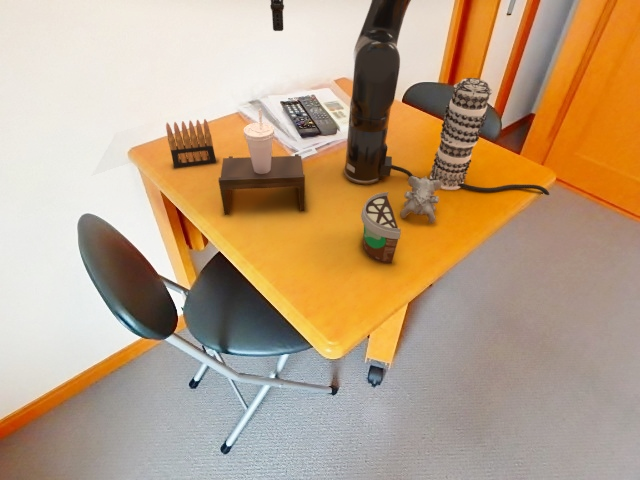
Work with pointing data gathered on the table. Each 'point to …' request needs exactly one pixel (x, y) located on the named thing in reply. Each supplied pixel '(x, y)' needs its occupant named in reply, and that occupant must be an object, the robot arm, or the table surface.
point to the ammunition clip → (190, 149)
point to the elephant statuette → (421, 197)
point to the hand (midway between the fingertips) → (277, 24)
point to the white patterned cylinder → (460, 132)
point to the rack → (261, 177)
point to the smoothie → (260, 144)
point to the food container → (379, 229)
